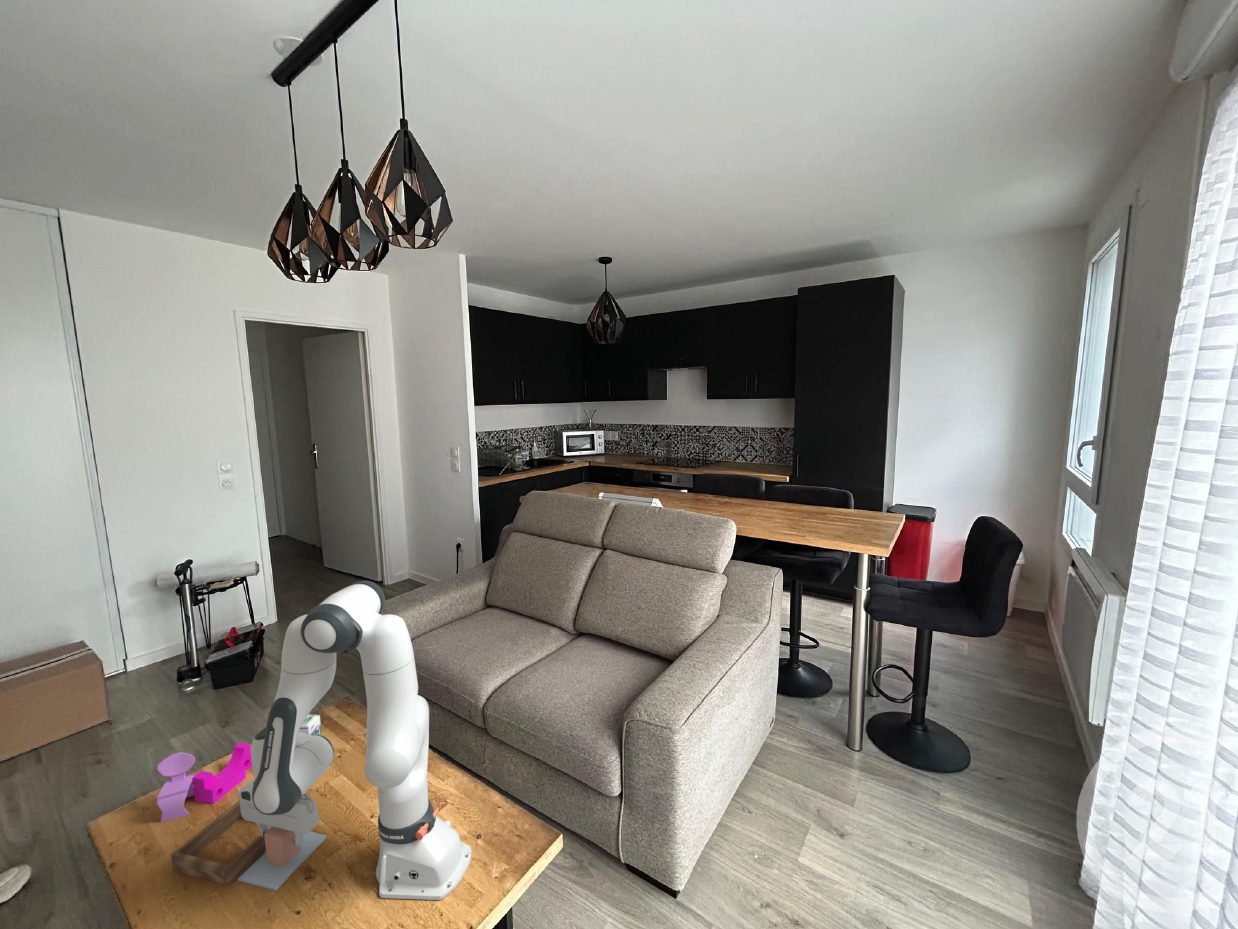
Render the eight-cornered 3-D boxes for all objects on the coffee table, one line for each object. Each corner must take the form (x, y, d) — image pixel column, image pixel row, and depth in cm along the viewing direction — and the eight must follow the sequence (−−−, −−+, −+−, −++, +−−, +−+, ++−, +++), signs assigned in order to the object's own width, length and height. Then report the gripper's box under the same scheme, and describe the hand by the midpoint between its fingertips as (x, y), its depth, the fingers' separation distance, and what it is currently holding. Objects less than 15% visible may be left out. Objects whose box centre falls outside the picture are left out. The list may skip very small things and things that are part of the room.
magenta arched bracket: (213, 804, 144) (210, 780, 143) (195, 801, 145) (192, 777, 144) (259, 767, 159) (256, 745, 158) (241, 764, 160) (239, 742, 159)
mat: (326, 838, 133) (326, 835, 133) (275, 892, 118) (275, 889, 118) (291, 830, 135) (291, 827, 135) (238, 881, 121) (237, 878, 121)
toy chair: (154, 825, 137) (147, 775, 135) (166, 802, 145) (159, 754, 143) (193, 814, 140) (186, 765, 138) (202, 792, 148) (196, 745, 146)
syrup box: (313, 768, 158) (309, 725, 156) (294, 768, 158) (290, 725, 156) (324, 755, 164) (320, 714, 162) (306, 755, 164) (302, 713, 162)
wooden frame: (293, 824, 137) (292, 809, 136) (228, 886, 120) (226, 869, 119) (243, 813, 141) (241, 798, 140) (173, 871, 123) (171, 855, 123)
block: (301, 849, 128) (298, 821, 127) (283, 867, 124) (280, 838, 123) (284, 845, 130) (282, 817, 129) (267, 863, 125) (264, 834, 124)
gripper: (323, 786, 125) (327, 836, 127) (256, 772, 130) (261, 821, 131) (301, 806, 119) (306, 858, 121) (232, 791, 123) (238, 841, 125)
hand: (282, 839), depth 126 cm, fingers open, 8 cm apart
